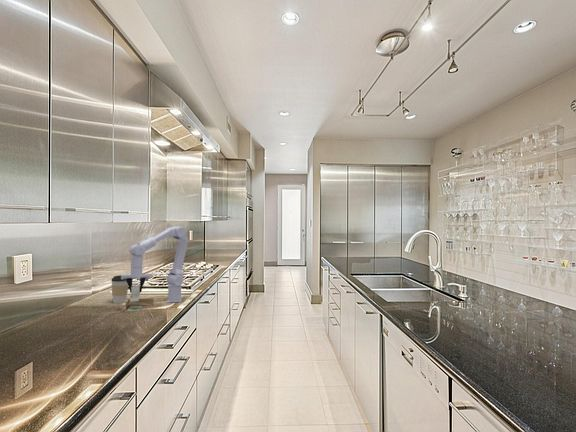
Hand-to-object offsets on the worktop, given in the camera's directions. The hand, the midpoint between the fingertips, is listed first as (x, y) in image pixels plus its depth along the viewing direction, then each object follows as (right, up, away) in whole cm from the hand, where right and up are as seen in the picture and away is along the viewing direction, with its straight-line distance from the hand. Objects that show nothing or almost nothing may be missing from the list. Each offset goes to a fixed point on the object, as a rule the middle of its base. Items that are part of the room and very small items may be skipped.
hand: (135, 292), depth 175 cm
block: (+1, -3, -3) cm, 4 cm away
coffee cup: (-15, -8, +11) cm, 20 cm away
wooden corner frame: (+2, -8, -1) cm, 9 cm away
